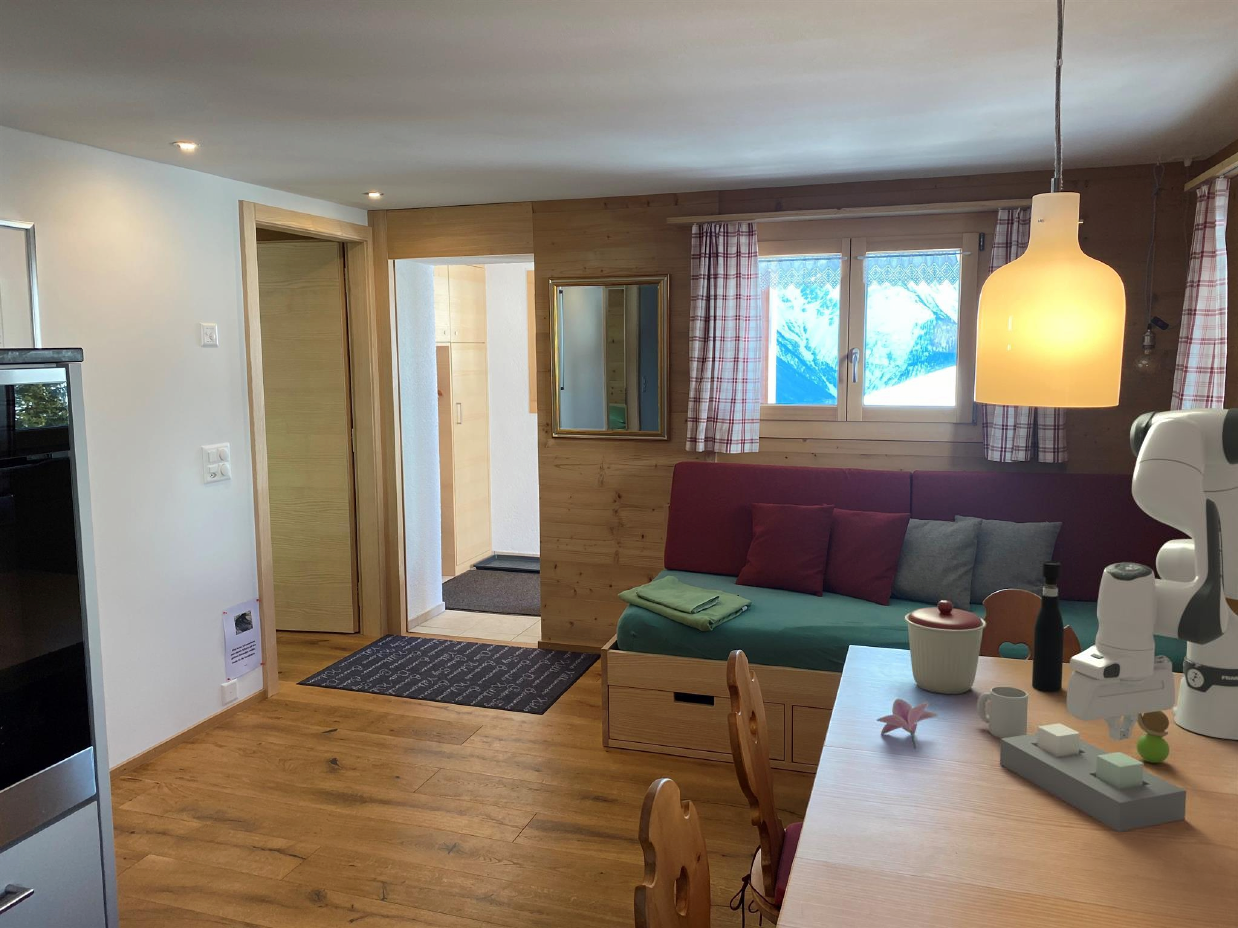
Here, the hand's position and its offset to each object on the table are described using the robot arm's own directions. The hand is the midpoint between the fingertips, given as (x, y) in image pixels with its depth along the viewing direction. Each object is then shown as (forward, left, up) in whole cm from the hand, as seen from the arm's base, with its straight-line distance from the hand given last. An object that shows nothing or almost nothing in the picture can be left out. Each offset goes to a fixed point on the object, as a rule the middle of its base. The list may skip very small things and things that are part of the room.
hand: (1119, 738), depth 159 cm
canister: (-10, -61, -12) cm, 63 cm away
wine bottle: (-33, -53, -12) cm, 64 cm away
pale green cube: (0, 0, -9) cm, 9 cm away
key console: (0, -7, -12) cm, 14 cm away
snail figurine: (-21, -13, -12) cm, 28 cm away
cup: (-4, -34, -12) cm, 36 cm away
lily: (+17, -36, -13) cm, 42 cm away
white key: (0, -14, -9) cm, 16 cm away
